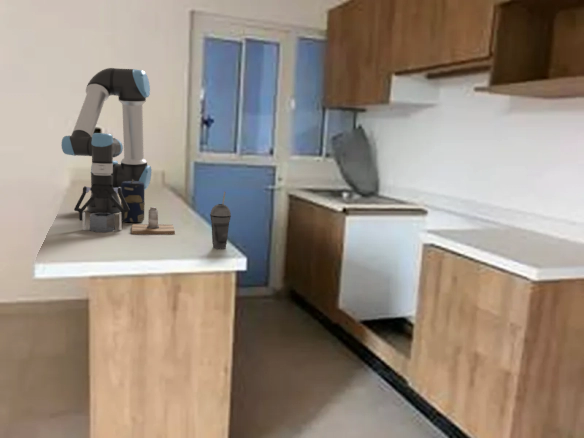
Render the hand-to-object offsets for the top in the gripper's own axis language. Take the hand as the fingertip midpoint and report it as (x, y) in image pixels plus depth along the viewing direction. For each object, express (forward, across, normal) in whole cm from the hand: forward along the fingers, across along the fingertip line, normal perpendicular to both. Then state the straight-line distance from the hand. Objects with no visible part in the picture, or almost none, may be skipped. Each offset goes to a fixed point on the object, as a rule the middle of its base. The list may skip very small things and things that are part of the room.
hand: (102, 229), depth 211 cm
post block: (0, +19, -1) cm, 19 cm away
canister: (0, +11, +19) cm, 22 cm away
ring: (0, 0, 0) cm, 0 cm away
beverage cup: (0, +41, -32) cm, 52 cm away
